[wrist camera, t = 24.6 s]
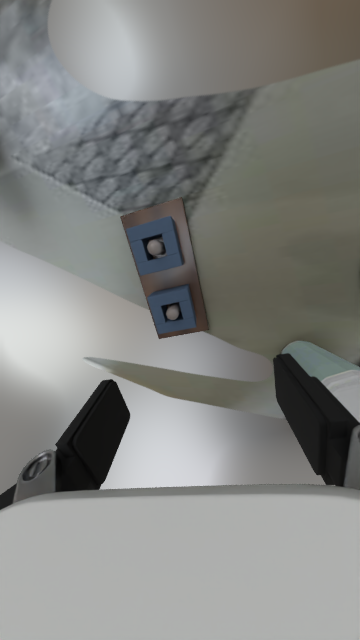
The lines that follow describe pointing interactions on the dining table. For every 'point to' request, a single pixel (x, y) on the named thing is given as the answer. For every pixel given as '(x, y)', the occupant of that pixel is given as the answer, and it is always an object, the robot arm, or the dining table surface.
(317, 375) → the disposable coffee cup
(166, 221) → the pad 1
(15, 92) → the dining table surface
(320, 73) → the dining table surface
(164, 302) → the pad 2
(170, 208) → the wooden peg board
